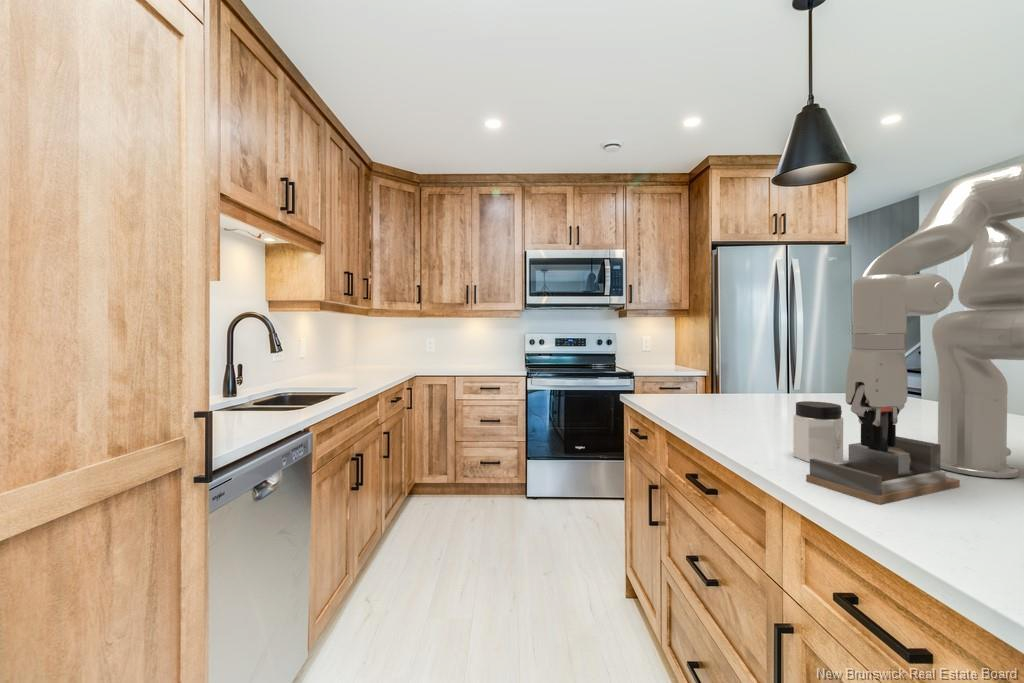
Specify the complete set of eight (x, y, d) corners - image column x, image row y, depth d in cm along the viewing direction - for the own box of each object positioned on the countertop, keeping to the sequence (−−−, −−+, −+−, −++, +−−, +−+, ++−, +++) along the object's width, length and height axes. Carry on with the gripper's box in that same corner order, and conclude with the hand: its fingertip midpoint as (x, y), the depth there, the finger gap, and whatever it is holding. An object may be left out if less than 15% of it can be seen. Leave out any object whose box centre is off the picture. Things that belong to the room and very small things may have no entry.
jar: (830, 467, 90) (830, 408, 89) (787, 458, 96) (787, 403, 96) (848, 460, 95) (849, 404, 94) (806, 451, 101) (806, 399, 101)
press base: (882, 467, 89) (882, 432, 89) (959, 486, 78) (960, 446, 78) (806, 481, 82) (806, 442, 81) (879, 504, 70) (879, 459, 70)
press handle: (860, 468, 84) (860, 399, 84) (910, 481, 76) (911, 406, 76) (847, 471, 82) (847, 400, 82) (896, 484, 75) (897, 407, 75)
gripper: (883, 342, 85) (883, 437, 86) (826, 344, 80) (825, 445, 80) (932, 343, 78) (931, 446, 79) (872, 345, 73) (871, 456, 73)
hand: (877, 444), depth 79 cm, fingers closed on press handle, 2 cm apart
